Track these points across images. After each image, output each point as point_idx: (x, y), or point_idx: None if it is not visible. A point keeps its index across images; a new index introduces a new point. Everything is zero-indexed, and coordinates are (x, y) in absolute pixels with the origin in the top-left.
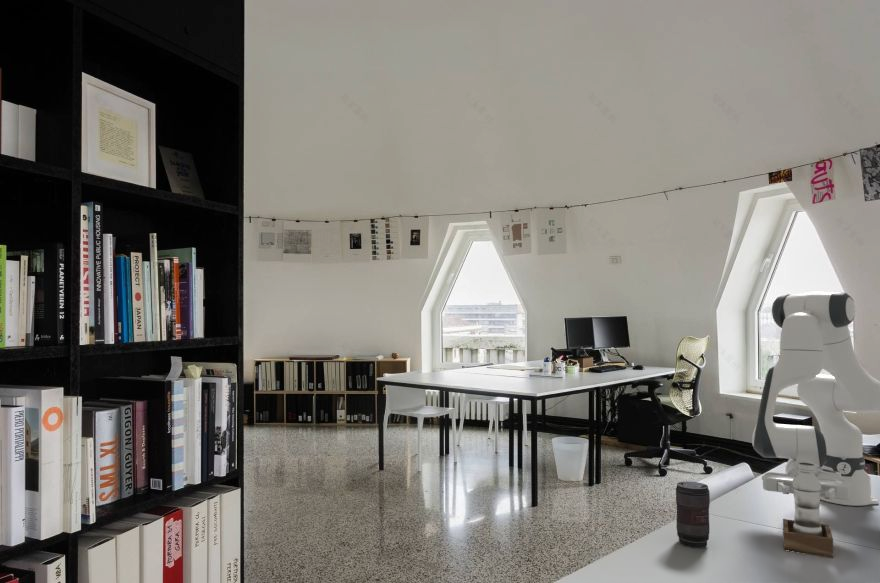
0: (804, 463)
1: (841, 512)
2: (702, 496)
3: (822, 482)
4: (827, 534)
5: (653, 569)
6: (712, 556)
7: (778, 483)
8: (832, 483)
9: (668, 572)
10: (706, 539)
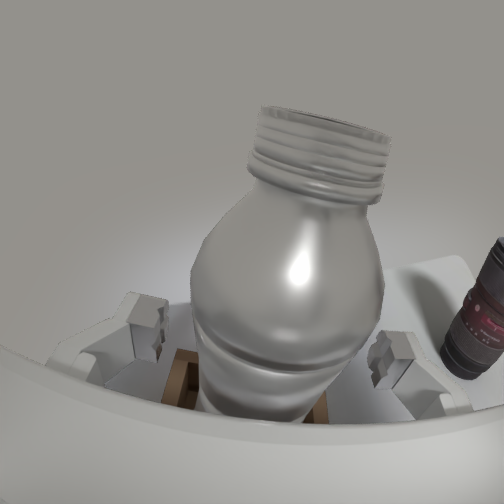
0: (355, 137)
1: None
2: (489, 252)
3: (108, 424)
4: (180, 387)
5: (433, 271)
6: (412, 321)
7: (456, 385)
8: (24, 394)
9: (419, 268)
10: (445, 338)
